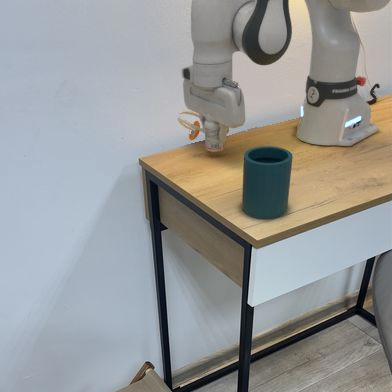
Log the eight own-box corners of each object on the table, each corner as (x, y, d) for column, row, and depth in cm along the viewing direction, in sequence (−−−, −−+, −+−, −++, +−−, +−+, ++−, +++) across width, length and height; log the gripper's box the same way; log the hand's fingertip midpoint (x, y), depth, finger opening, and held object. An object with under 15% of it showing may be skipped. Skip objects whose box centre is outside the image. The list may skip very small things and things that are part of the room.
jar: (266, 194, 106) (270, 142, 99) (296, 210, 100) (302, 156, 93) (233, 206, 102) (234, 153, 95) (261, 223, 97) (265, 168, 89)
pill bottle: (213, 143, 124) (212, 107, 118) (228, 147, 122) (228, 111, 116) (201, 149, 122) (199, 113, 116) (216, 153, 119) (215, 117, 114)
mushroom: (169, 136, 127) (213, 162, 136) (189, 117, 121) (233, 145, 130) (169, 114, 130) (212, 141, 139) (188, 94, 124) (231, 123, 133)
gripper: (252, 80, 105) (251, 145, 115) (199, 63, 118) (201, 123, 127) (229, 86, 103) (229, 152, 112) (177, 68, 116) (181, 129, 125)
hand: (214, 136), depth 120 cm, fingers closed on pill bottle, 5 cm apart
